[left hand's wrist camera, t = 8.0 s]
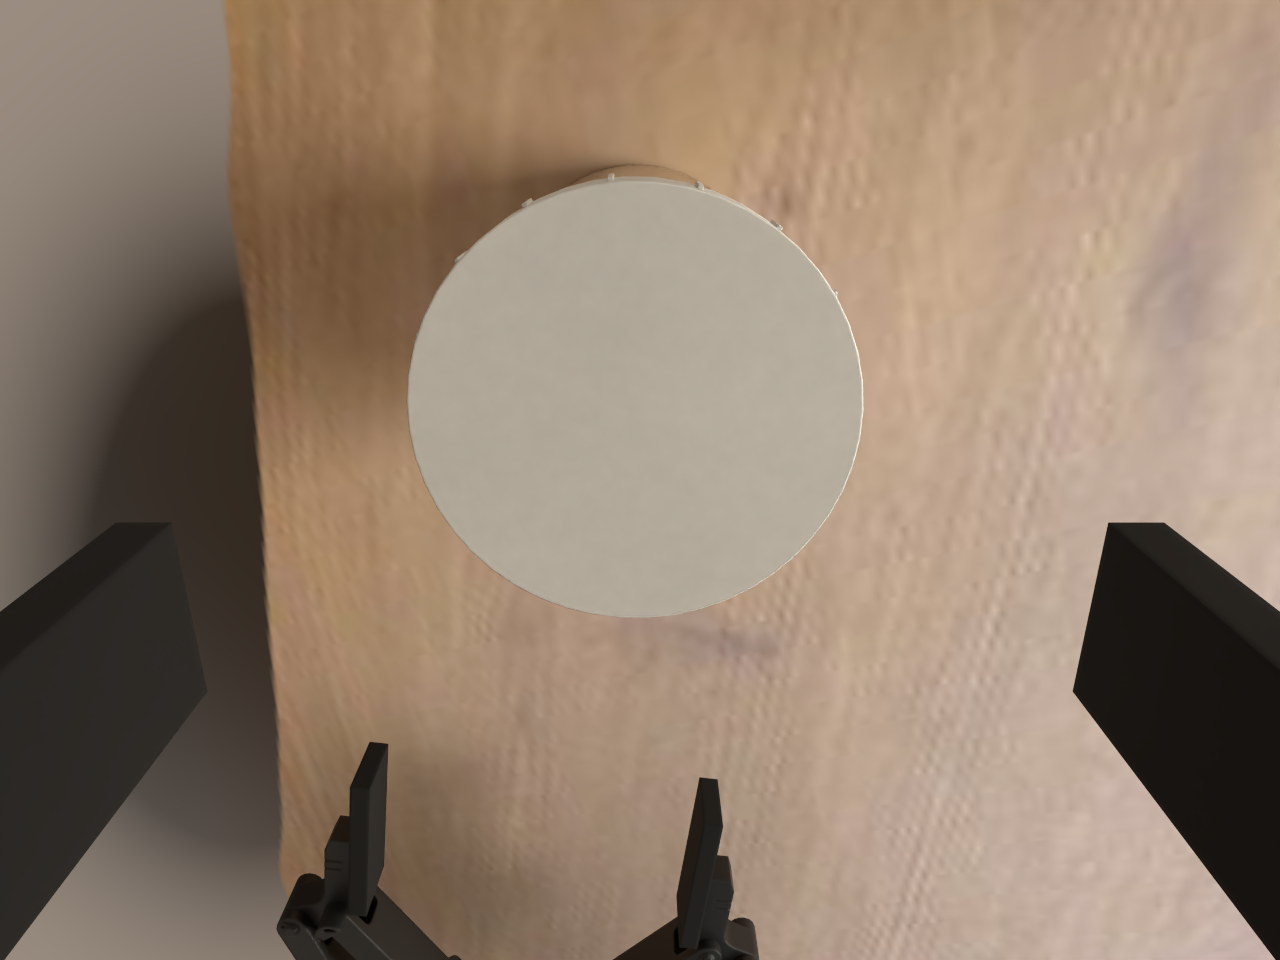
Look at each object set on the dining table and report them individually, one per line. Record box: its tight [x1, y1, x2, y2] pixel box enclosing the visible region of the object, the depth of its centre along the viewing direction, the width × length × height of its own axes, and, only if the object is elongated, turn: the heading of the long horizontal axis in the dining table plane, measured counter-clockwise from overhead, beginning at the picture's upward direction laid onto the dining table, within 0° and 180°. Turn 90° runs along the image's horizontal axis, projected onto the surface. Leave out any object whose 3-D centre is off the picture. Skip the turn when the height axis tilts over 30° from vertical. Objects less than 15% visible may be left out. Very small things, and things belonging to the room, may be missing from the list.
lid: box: [407, 173, 863, 618], centre depth 21 cm, size 10×10×2 cm
